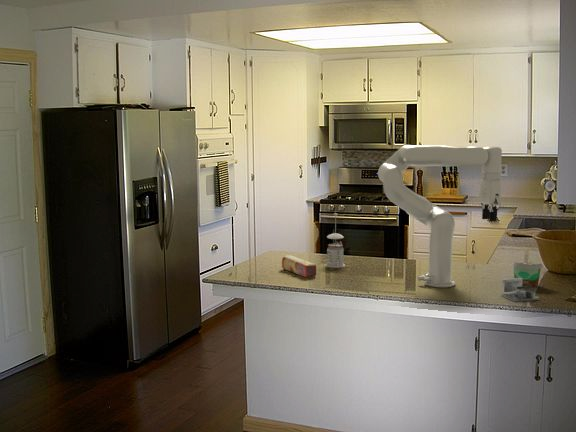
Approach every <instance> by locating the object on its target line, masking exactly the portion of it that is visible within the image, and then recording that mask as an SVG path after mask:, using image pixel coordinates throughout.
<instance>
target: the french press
mask: <svg viewBox="0 0 576 432" xmlns="http://www.w3.org/2000/svg"><path fill="white" fill-rule="evenodd" d="M338 215H339V214H338V213H336V212H334V213H333V216H335V217H334V218H335V219H334V220H335V222H334V224H335V225H334V229H335V230H334V232H333V233H331V234H330V233H329V234H328V235H327V236H326V238H327V239H330V240H334V243H329V244H327V246H328V247H327V249H326V263H325V265H324V266H325V267H327V268H343V267H346V264H345V263H344V247H343V246H344V245H343V243H342V241H341V239H342V240H343V239H344V238H345V237H344V236H343V235H342V234H340V233H337V232H336V231H337V217H338ZM337 240H340V241H339V242H338V243H337Z"/></svg>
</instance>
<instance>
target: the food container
mask: <svg viewBox="0 0 576 432" xmlns="http://www.w3.org/2000/svg"><path fill="white" fill-rule="evenodd" d="M511 267H512V268H513V278H522V286H532V288H531V289H533V288H538V287H539V284H540V283H539V282H540V276H541V272H542V271H541V270H542V269H543V267H544V266H543V263H542V262H540V263H531V262H515V261H514V260H513V261H512V264H511Z"/></svg>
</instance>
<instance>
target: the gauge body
mask: <svg viewBox="0 0 576 432" xmlns="http://www.w3.org/2000/svg"><path fill="white" fill-rule="evenodd" d="M526 291H527V294H526V296H524V293H522V292H520V291H517V293H516V294H515V293H513V292H509V293H502V294H501V297H502V298H504V299H507V300H509V301H512V302H514V303H517V302H518V303H519V302H530V301H532V302H533V301H540V297H539V296H537V295H535V294H534V293H535V292H534V291H531V290H526Z"/></svg>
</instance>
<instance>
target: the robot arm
mask: <svg viewBox="0 0 576 432" xmlns="http://www.w3.org/2000/svg"><path fill="white" fill-rule="evenodd" d="M502 153H503V150H502V148H501V146H485V147H484V146H475V145H469V146H467V147H458V146H450V145H441V144H440V145H435V144H434V145H412V144H405V145H403V146H401V147H400V148H398V149H397V150H396V151H395V152H394V153H393V154H392V155H391V156H390V157H389V158H387V159H386V160H385V161H384V163H382V164H381V165H380V166H379V168H378V171H377V176H378V179H379V180H380V182H382V183H383V191H384V194H385V196H386V197H387V199H388V200H389V201H390V202H391V203H393V204H394V205H395V206H397V207H399V208H400V209H401V210H403V211H405V213H406V214H407V215H409V216H410V217H412V218H413V219H415V220H416V221H418V222H420V223H422V224H423V225H425V226H427V227H428V228H429V229H430V234H429V240H428V241H429V242H428V271H427V272H426V273H425V274H424V275H418V276H417V281H418V282H419V281H422V282H423V283H424V285H426V286H429V287H433V288H451V287H454V286H455V285H456V282H455V281H454V280H452V269H453V268H452V266H453V241H454V239H453V238H454V234H455V233H454V232H455V225H456V224H455V223H456V221H455V218H454V216H453V215H452V213H451V212H449V211H448V210H446V209H443V208H441V207H440V206H437V205H436V204H434V203H433V202H431V201H429V200H428V199H427V198H426V197H424V196H422V195H420V194H418V193H416V192H415V191H413V190H412V189H410V188H408V187H407V186H406V185H405V184H404V182H403V181H404V180H403V179H404V177H403V176H404V175H403V173H404V172H405V171H406V170H407V169H408V168H409V167H480V166H481V167H482V170H481V180H480V183H479V189H478V190H479V192H478V202H479V203H480V205H481V210H482V211H481V212H482V213H481V214H482V217H481V219H482V220H489V222H497V220H498V212H499V208H500V207H501V206H502V203H501V201H502V188H501V186H502V185H501V177H502V176H501V175H502V159H503V158H502V155H503V154H502Z"/></svg>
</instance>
